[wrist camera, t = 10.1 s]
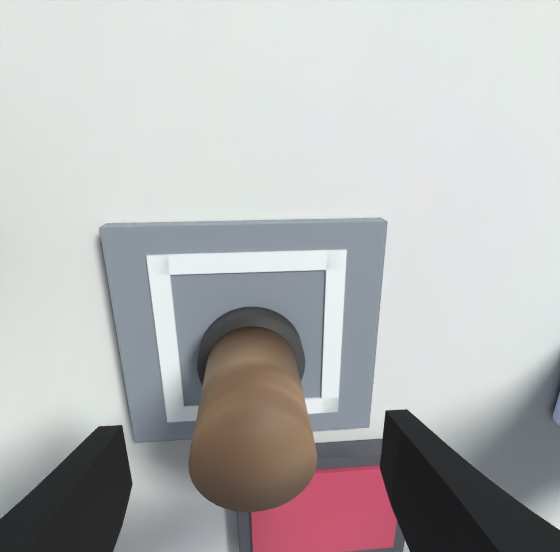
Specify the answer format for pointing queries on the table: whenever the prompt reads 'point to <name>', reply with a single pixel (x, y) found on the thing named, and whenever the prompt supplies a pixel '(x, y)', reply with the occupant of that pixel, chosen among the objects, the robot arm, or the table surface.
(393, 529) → the ink pad
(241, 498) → the stamp
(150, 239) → the board
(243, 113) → the table surface
